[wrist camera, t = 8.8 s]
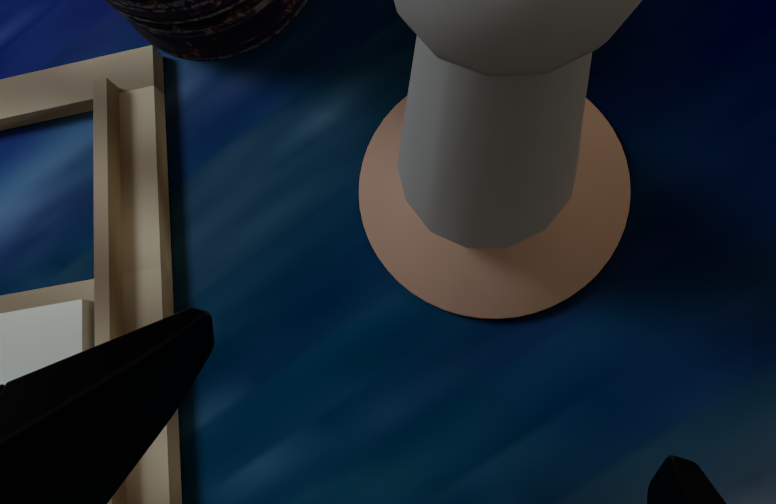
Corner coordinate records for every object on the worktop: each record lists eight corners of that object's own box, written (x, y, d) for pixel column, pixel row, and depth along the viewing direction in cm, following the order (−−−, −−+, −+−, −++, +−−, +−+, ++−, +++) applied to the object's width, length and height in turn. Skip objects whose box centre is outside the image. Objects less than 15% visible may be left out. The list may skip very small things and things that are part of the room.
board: (194, 779, 16) (166, 822, 15) (-157, 804, 18) (-216, 847, 16) (162, 55, 23) (141, 33, 21) (-93, 113, 24) (-131, 96, 23)
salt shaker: (379, 222, 19) (230, -48, 7) (446, 96, 20) (423, -358, 8) (523, 289, 18) (672, 111, 5) (589, 152, 19) (849, -283, 6)
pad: (659, 294, 18) (663, 293, 17) (379, 338, 19) (378, 338, 18) (590, 47, 20) (593, 41, 20) (345, 98, 21) (343, 93, 21)
